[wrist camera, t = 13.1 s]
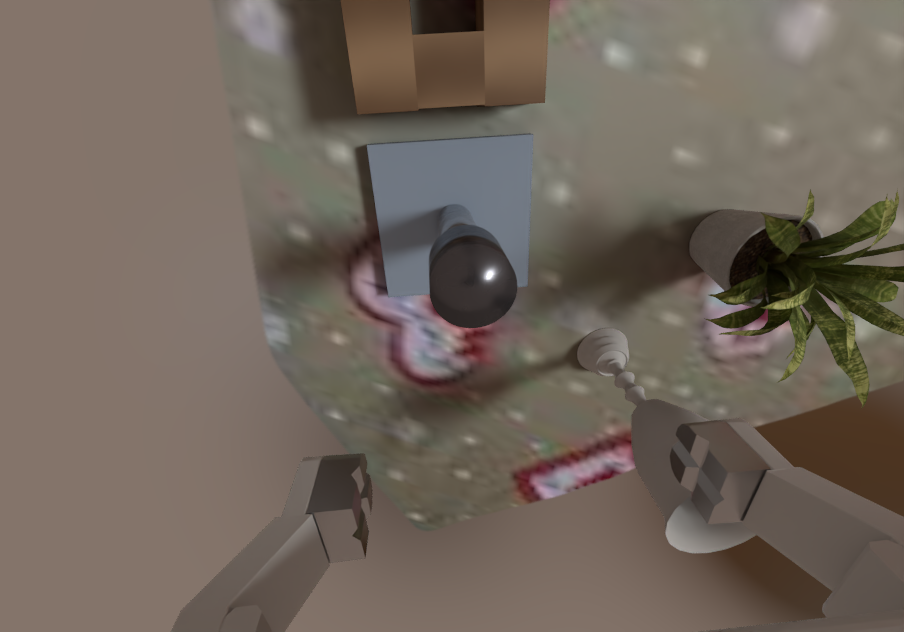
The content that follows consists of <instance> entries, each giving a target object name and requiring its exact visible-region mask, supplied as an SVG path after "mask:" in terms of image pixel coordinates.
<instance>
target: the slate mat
mask: <svg viewBox="0 0 904 632" xmlns="http://www.w3.org/2000/svg"><path fill="white" fill-rule="evenodd" d="M367 151H368V158H369V165H370V172H371V179H372V186H373V193H374V200H375V207H376V214H377V221H378V228H379V235H380V242H381V249H382V256H383V262H384V269H385V276H386V283H387V290H388V297H400V296H413V295H426V294H430V288H429V254H430V250H431V248H432V246H433V244H434V242H435V241H436V240H437V238H438V237H439V233H438V225H437V219H438V216H439V213H440V212H441V211H442V210H443V209H444V208H445V207H446V206H448V205H452V204H459V205H462V206H464V207H466V208H467V209H468V210H469V211H470V213H471V215H472V217H473V220H474V222H475V224H476V226H479V227H481V228H484V229H486V230H487V231H489V232H490V233H491V234H492V235H493V236H494V237H495V238H496V239H497V240H498V242H499V244H500V246H501V247H502V249H503V251H504V253H505V255H506V256H507V258H508V260H509V262H510V264H511V265H512V267H513V269H514V271H515V274H516V278H517V287H528V260H529V234H530V207H531V181H532V154H533V134H516V135H500V136H485V137H470V138H454V139H439V140H423V141H408V142H392V143H377V144H368V145H367Z"/></svg>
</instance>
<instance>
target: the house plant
mask: <svg viewBox="0 0 904 632" xmlns="http://www.w3.org/2000/svg"><path fill="white" fill-rule="evenodd" d="M897 191H898V190H897ZM887 195H888V194H887ZM898 203H899V196H898V192H897V193H896V198H895V203H894V202H893V200H892V199H891V201H888V198H887V197H886V200H885V201H880V202H878V203H876V204H874V205H873V206H871V207H870V208H869V209H867V210H866V211H865V212H864V213H863V214H862V215H860V216H859V217H858V218H857V219H856V220H855V221H854V222H852V223H851V224H850V225H849V226H847V227H846V228H845V229H843V230H842V231H840V232H837V233H835V234H832V235H830V236H827V237H823V233H822V231H821V230H820V228H819V226H818V225H817V224H816V223H815V222H813V221H812V220H811V219H809V218H810V217H811V216H812V215H813V212H814V196H813V194H812V193H811V190H810V193H809V197H808V203H807V207H806V212H805V214H804V216H799V215H788V214H777V213H766V212H755V211H744V210H734V209H724V210H721V211H717V212H715V213H713V214H711V215H709V216H708V217H706V218H705V219H704V220H703V221H701V223H700V224H699V225H698V226H697V227H696V229H695V231H694V232H693V234H692V236H691V240H690V243H689V251H690V255H691V257H692V259H693V260H694V261H695V263H696V264H698V265H699V266H700V267H701V268H702V269H703V270H704V271H705V272H706V273H707V274H708V275H709V276H710V277H711V278H712V279H713V280H714V281H715V282H716V283H717V284H718V285H719V286H720V287H721V288H722V289H723V290H724V292H721V293H719V294H716V295H710V296H713V297H716V298H718V299H719V300H721V301H722V302H724V303H726V304H730V305H738V304H743V305H747V306H751V307H752V308H749V309H745V310H742V311H738V312H734V313H731V314H728V315H725V316H723V317H721V318H717V319H711V320H709V319H706V320H708V321H711V322H713V323H715V324H717V325H719V326H721V327H723V328H739V327H743V326H745V325H747V324H749V323H751V322H753V321H755V320H756V319H758V318H759V317H760V316H761V315H763V314H764V312H765V310H766V309H768V322H767V323H766V324H765V326H764V327H763V328H761V329H760V330H748V331H735V332H727V333H721V334H728V335H744V336H755V335H762V334H765V333H767V332H770V331H772V330H773V329H775V328H777V327H778V326H780V325H782V324H783V323H785V322H786V321H788V320H789V321H790V325H791V328H792V331H793V334H794V337H795V349H794V348H793V349H794V350H793V351H792V352H791V353H790V354H789V356H790V355H791V354H792V353H793V352H794V356H793V358H792V360H791V362H790V364H789V365H788V367H787V369H786V371H785V373H784V375H783V377H782V379H781V380H780V381H782V380H784V379H786V378H787V377H789V376H790V375H791V374H793V373H794V372H795V371H796V370H797V369H798V367H799V365H800V364H801V362H802V360H803V357H804V353H805V346H806V340H808V338H809V335H810V334H811V332H812V330H813V328H814V326H815V324H817V325H818V327H819V329H820V330H821V332H822V334H823V335H824V337H825V339H826V341H827V343H828V345H829V347H830V349H831V351H832V354H833V356H834V358H835V361H836V363H837V364H838V366H839V367H840V368H841V369H842V370H843V371H844V372H845V373H846V374H847V375H848V376H849V377H850V378H851V380H852V381H853V384H854V387H855V390H856V394H857V396H858V398H859V399H860V401H861V402H862V405H863V406H864V405H865V403H866V400H867V396H868V391H869V378H868V373H867V367H866V365H865V363H864V360H863V358H862V356H861V353H860V351H859V349H858V346H857V344H856V342H855V324H854V320H853V317H852V315H851V313H850V311H851V312H852V313H854V314H856V315H858V316H860V317H861V318H863V319H865V320H866V321H868V322H869V323H871V324H873V325H875V326H878V327H880V328H882V329H884V330H887V331H890V332H893V333H895V334H899V335H902V336H904V319H903V318H901V317H900V316H898V315H896V314H895V313H893V312H892V311H890V310H888V309H887V308H885V307H883V306H882V305H880V304H878V303H877V302H888V301H892V300H894V299H895V298H896V295H897V291H898V287H897V286H896V285H895V284H894V283H892V282H889V281H898V282H904V266H900V267H883V266H868V265H845V264H843V263H846V262H849V261H851V260H854V259H855V258H859V257H867V256H874V255H879V254H884V253H889V252H895V251H901V250H904V244H900V245H896V246H892V247H888V248H883V249H877V250H872V251H867V250H868V249H869V248H870V247H871V246H873V245H874V244H876V243H877V242H878V241H879V240H881V239H882V238H883V237H884V236H885V235H887V233H888V231H889V229H890V226H891V225H892V224H893V222H894V220H895V217H896V211H897V207H898ZM877 234H878V236H877V238H876V240H875V241H874V243H873V244H872V245H871V246H869V247H867V248H865V249H863V250H860V251H857V252H854V253H851V254H847V255H840V256H831V257H822V256H827V255H830V254H833V253H836V252H839V251H842V250H844V249H845V248H847V247H849V246H851V245H853V244H854V243H857V242H860V241H863V240H865V239H868V238H870V237H873V236H875V235H877ZM885 280H888V281H885ZM817 290H818V291H819V292H820V293H822V294H823V295H824V296H826V297H827V298H828V299H830V300H831V301H833V302H834V303H836V304H838V306H839V308H840V310H841V312H842V314H843V317H844V319H845V322H844V321H843V320H842V319H841V318H840V317H839V316H837V315H836V314H835V313H834V312H833V311H832V310H831V308H830V307H829V306H828V304H827V303H826V302H825V300H824V299H823V298H822V297H821V295H820V294H819V293H818V292H817ZM800 305H803V307H804V308H805V309H806V310H807V311H808V313H809V314H810V315H811V323H809V321H808V319H807V317H806V315H805V314H804V312H803V311H802V309H801V308H800ZM789 356H788V357H789ZM788 357H787V358H788ZM787 358H786V359H787ZM780 381H778V382H780ZM776 383H777V382H776ZM863 406H862V407H863Z"/></svg>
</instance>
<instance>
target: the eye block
mask: <svg viewBox="0 0 904 632" xmlns="http://www.w3.org/2000/svg"><path fill="white" fill-rule="evenodd" d="M549 6H550V0H475V28H476V31H473V32H455V33H437V34H419V35H413V34H412V22H411V11H410V0H341V7H342V14H343V21H344V27H345V34H346V41H347V48H348V54H349V61H350V68H351V74H352V81H353V88H354V95H355V101H356V108H357V114H371V113H387V112H403V111H418V110H419V109H422V108H438V107H454V106H471V105H477V107H478V106H500V105H516V104H532V103H545V88H546V68H547V47H548V27H549Z"/></svg>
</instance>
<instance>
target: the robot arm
mask: <svg viewBox="0 0 904 632" xmlns="http://www.w3.org/2000/svg"><path fill="white" fill-rule="evenodd" d="M676 436H677V438H678V439H679V441H678V442H677V443H676V444H675V445H674V446H673V447H672V449H671V453H670V463H671V468H672V471H673V473H674V475H675V477H676V479H677V480H678V482H679V483H680V485H682V486H683V487H685V488H687V489H688V490H690V491H691V501H692V502H693V504H694V505H695V507H696V508H697V510H698V511H699V513H700V514H701V516H702V517H703V518H704V520H705V521H706V523H707V524H718V523H732V522H742V524H743V525H744V526H746V527H747V528H748V529H750V530H751V531H753V532H754V533H755V534H757V535H758V536H759V537H761V538H762V539H763V540H765V541H766V542H767V543H769V544H770V545H771V546H773V547H774V548H775V549H777V550H778V551H779V552H781V553H782V554H783V555H785V556H786V557H787V558H789V559H790V560H791V561H793V562H794V563H796V564H797V565H798V566H800V567H801V568H802V569H804V570H805V571H806V572H808V573H809V574H810V575H812V576H813V577H815V578H816V579H817V580H819V581H820V582H821V583H822V584H824V585H825V586H826V587H828V588H829V589H830V590H832V591H833V592H832V593H831V595H830V596H829V597H828V599H827V600H826V602H825V603H824V604H823V609H822V612H823V613H824V614H825V616H826V617H827V618H820V619H811V620H801V621H792V622H783V623H774V624H765V625H756V626H747V627H737V628H728V629H719V630H710V631H701V632H904V517H902V516H900V515H898V514H896V513H894V512H892V511H890V510H888V509H886V508H884V507H882V506H879V505H877V504H875V503H873V502H871V501H869V500H867V499H865V498H863V497H861V496H859V495H857V494H855V493H853V492H851V491H848V490H846V489H844V488H842V487H840V486H838V485H836V484H834V483H832V482H830V481H828V480H826V479H824V478H822V477H820V476H818V475H815V474H813V473H812V472H809V471H807V470H805V469H803V468H801V467H797V468H794V467H793V466H792V465H791V464H790V463H789V462H788V461H787V460H786V459H785V458H784V457H783V456H782V455H781V454H780V453H779V452H778V451H777V450H776V449H775V448H774V447H773V446H772V445H771V444H770V443H769V442H767V441H766V440H765V439H764V438H763V437H762V436H761V435H760V434H759V433H758V432H757V431H756V430H755V429H754V428H753V427H752V426H751V425H750V424H749V423H748V422H747V421H745V420H743V419H741V418H735V419H725V420H713V421H704V422H694V423H684V424H681V425H680V426H679V427H678V428H677V432H676ZM366 469H367V460H366V456H365V454H363V453H360V454H345V455H329V456H319V457H306V458H303V459H302V461H301V462H300V464H299V467H298V470H297V473H296V476H295V478H294V481H293V484H292V487H291V490H290V493H289V496H288V499H287V502H286V505H285V508H284V511H283V514H282V516H281V517H276V518H274V519H273V520H272V521H271V522H270V523H269V524H268V525H267V526H266V527H265V528H264V529H263V530H262V531H261V532H260V533H259V534H258V535H257V536H256V537H255V538H254V539H253V540H252V541H251V542H250V543H249V544H248V545H247V546H246V547H245V548H244V549H243V550H242V551H241V552H240V553H239V554H238V555H237V556H236V557H235V558H234V559H233V560H232V561H231V562H230V563H229V564H228V565H227V566H226V567H225V568H223V570H221V572H219V574H217V575H216V576H215V577H214V578H213V579H212V580H211V581H210V582H209V583H208V584H207V585H206V586H205V587H204V588H203V589H202V590H201V591H200V592H199V593H198V594H197V595H196V596H195V597H194V598H193V599H192V600H191V601H190V602H189V603H188V604H187V605H186V606H185V607H184V608H183V609H182V610H181V611H180V614H179V616H178V618H177V620H176V622H175V624H174V626H173V628H172V631H171V632H285V630H286V629H287V628H288V626H289V625H290V623H291V622H292V620H293V619H294V617H295V616H296V614H297V613H298V611H299V610H300V608H301V607H302V606H303V604H304V603H305V601H306V600H307V598H308V597H309V595H310V594H311V592H312V591H313V589H314V588H315V586H316V585H317V584H318V582H319V580H320V579H321V578H322V576H323V575H324V573H325V572H326V570H327V569H328V567H329V566H330V565H329V563H334V562H342V561H350V560H357V559H365V558H366V550H367V543H368V535H369V530H368V525H367V521H366V520H367V519H368V517H369V516H370V515H371V510H372V483H371V478H370V475H369V474H367V473H366Z"/></svg>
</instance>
